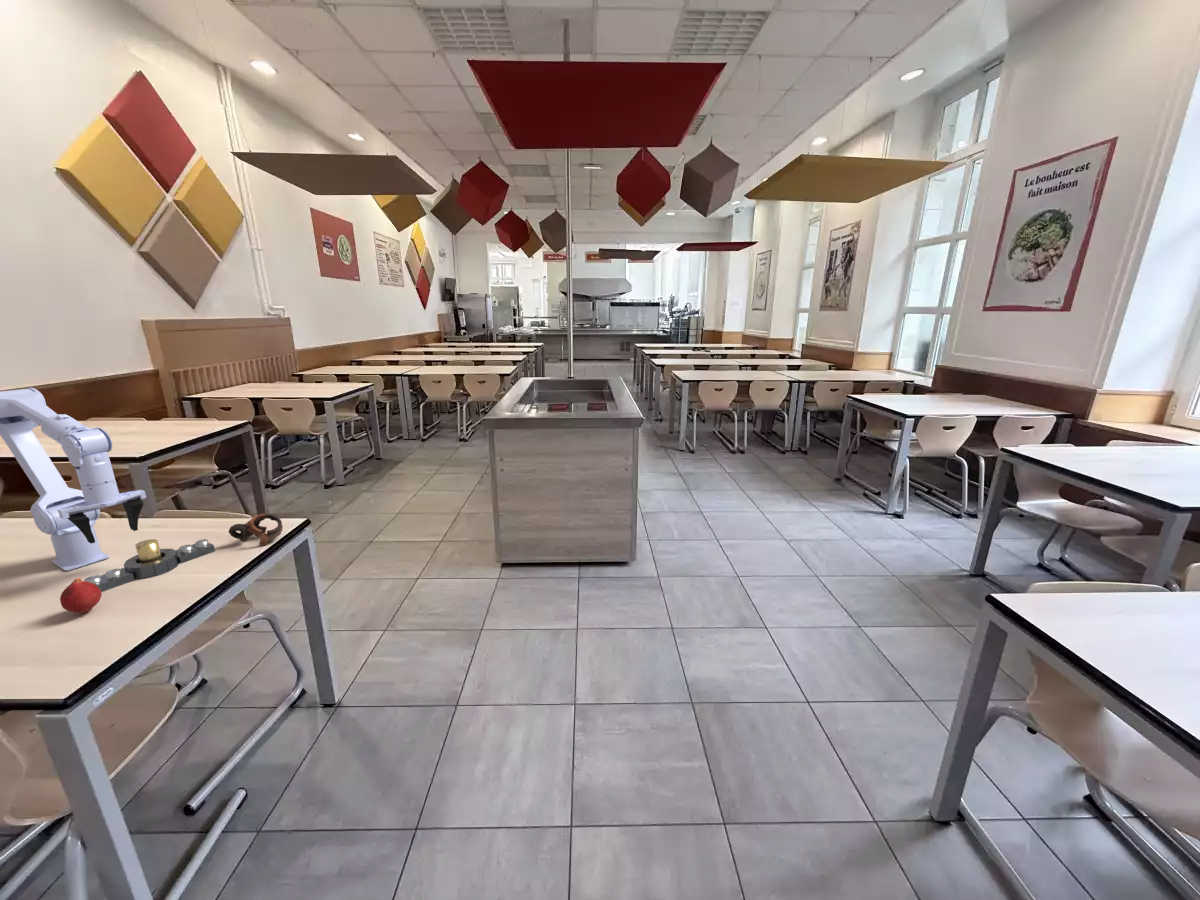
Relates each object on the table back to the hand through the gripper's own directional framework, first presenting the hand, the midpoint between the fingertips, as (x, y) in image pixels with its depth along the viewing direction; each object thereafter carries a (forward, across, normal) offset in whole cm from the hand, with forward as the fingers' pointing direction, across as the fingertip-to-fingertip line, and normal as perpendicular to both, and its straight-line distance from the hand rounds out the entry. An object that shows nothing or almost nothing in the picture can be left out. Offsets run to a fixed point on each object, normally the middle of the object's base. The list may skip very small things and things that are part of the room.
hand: (113, 535), depth 115 cm
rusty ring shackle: (+10, +25, -11) cm, 29 cm away
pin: (+9, +4, -5) cm, 11 cm away
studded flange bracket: (+9, +4, -5) cm, 11 cm away
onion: (+10, -11, -15) cm, 21 cm away
